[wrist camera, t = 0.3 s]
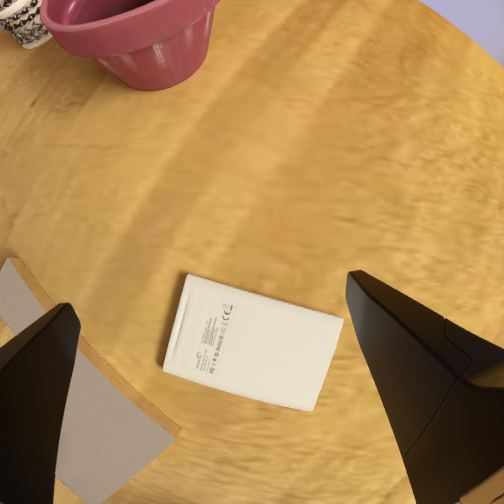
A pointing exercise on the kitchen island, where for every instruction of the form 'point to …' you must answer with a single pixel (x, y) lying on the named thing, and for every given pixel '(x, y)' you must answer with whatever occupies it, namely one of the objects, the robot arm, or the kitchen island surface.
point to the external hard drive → (251, 344)
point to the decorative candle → (24, 22)
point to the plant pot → (135, 36)
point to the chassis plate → (90, 404)
